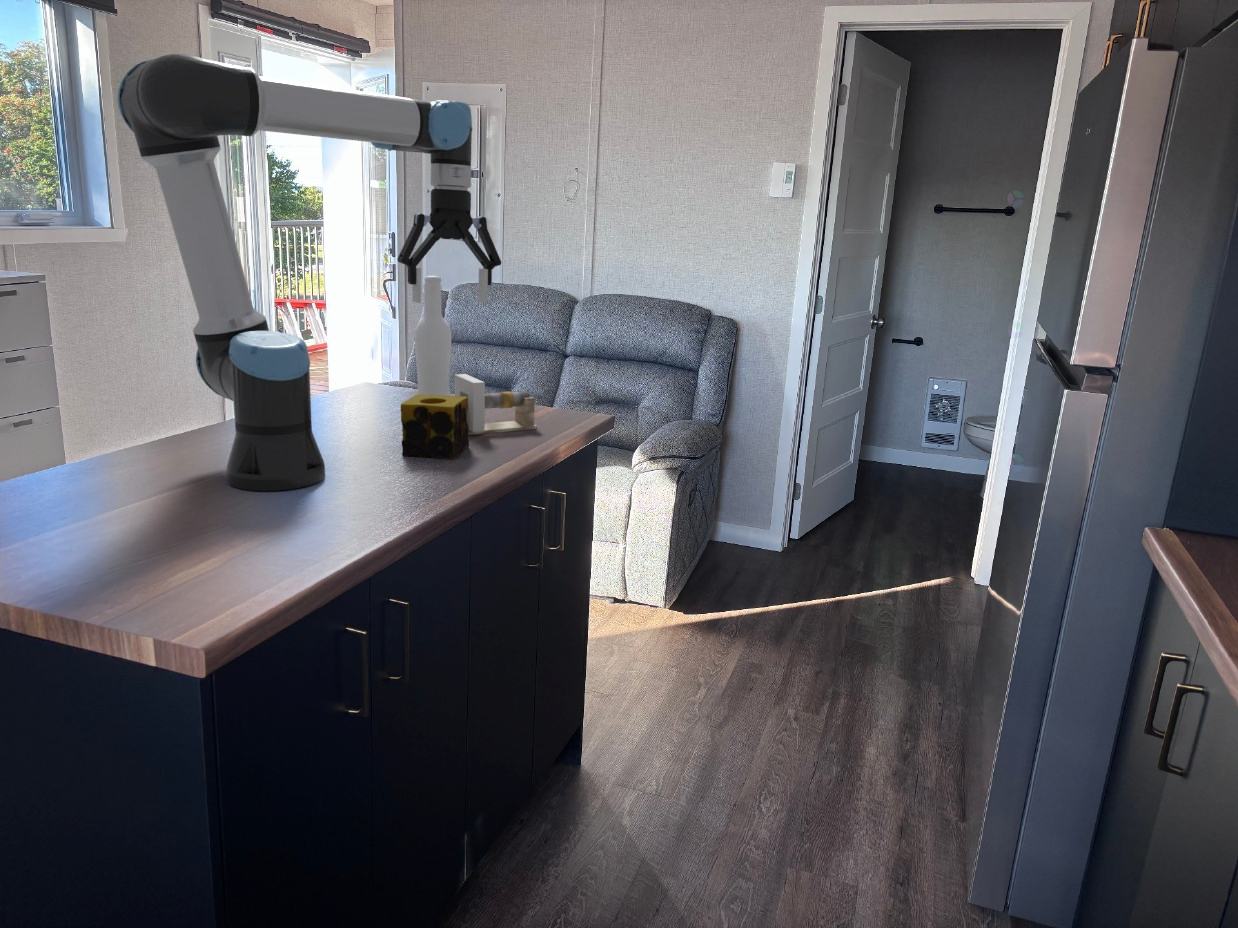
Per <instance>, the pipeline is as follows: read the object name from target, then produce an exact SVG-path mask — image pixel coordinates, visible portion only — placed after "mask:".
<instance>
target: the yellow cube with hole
mask: <svg viewBox="0 0 1238 928" xmlns="http://www.w3.org/2000/svg"><path fill="white" fill-rule="evenodd" d="M416 394H417V393H416ZM416 394H414V396H411V397H410V398H408V399H406V400H405V401H403V402H401V403H400V422H401V425H402V429H401V430H402V434H401V435H402V439H401V446H402V447H401V448H402V453H401V456H404V457H409V458H410V457H412V458H413V457H414V458H427V459H441V460H455V459H456V458H457V457H459V456H460V455H461V454H463V453H464V451H465V450H466V449H468V448H469V446H470V443H469V442H470V440H469V436H470V435H468V429H469V428H468V424H467V421H466V411H467V402H468V397H467V396H455V395H451V396H445V395H425V394H417V395H416Z"/></svg>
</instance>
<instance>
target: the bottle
mask: <svg viewBox="0 0 1238 928" xmlns="http://www.w3.org/2000/svg"><path fill="white" fill-rule="evenodd" d="M441 282H442V278H441V277H440V276H437V275H426V276H425V277H424V283H423V287H422V288H423V290H424V291H423V300H424V301H423V316H422V318H421V319H419V321H418V323H417V325H416V326H415V329H414V334H413V335H414V337H413V338H414V350H415V361H416V362H415V363H416V364H415V365H416V376H417V390H416V394H415V395H417V394H425V395H445V396H452V394H451V391H450V375H451V373H450V372H451V356H452V353H451V352H452V332H451V331H452V330H451V327H450V325H449V323H448V321H446V319H445V318H444V317H443V313H442V284H441Z"/></svg>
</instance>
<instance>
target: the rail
mask: <svg viewBox="0 0 1238 928" xmlns="http://www.w3.org/2000/svg"><path fill="white" fill-rule="evenodd" d="M464 396H467V397H468V395H464ZM535 399H536V398H535V397H533V396H531V395H530V393H529V391H525V390H524V391H514V392H513V391H500V392H497V393H485V409H486V410H488V409H510V408H511V409H512V408H513V407H515V409H514V412H515V413H514V415H515V417H514V418H515V419H514V420H511V421H509V420H507V421H500V422H499V421H498V422H486V423H485V431H481V432H472V431H470V430H469V429H468V436H472V435H482V434H494V433H503V432H506V433H507V432H515V431H516V432H518V431H527V430H537V429H538V425H536V424H535ZM467 410H468V402H467Z"/></svg>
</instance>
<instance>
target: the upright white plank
mask: <svg viewBox="0 0 1238 928" xmlns="http://www.w3.org/2000/svg"><path fill="white" fill-rule="evenodd" d="M485 386H486V383H485V381H482V380H480V379H478V378H476V377H473V376H471V375H469V374H467V373H458V374H456V373H455V374H454V396H464V395H468V410H467V411H466V421H467V424H468V428H469V430H470V431H472V432H481V431H485V422H486V421H485V416H486V414H485V413H486V411H485V394H486V393H485V392H486V387H485Z"/></svg>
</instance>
